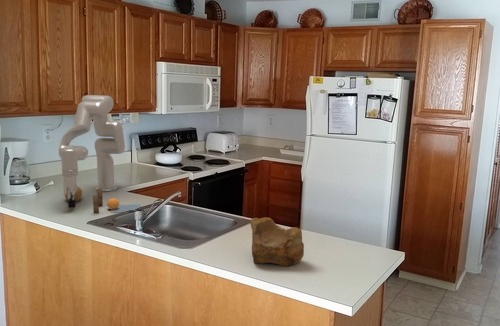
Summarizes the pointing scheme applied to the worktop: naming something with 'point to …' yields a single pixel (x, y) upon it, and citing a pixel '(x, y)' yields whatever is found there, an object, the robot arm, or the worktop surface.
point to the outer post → (95, 204)
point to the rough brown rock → (275, 243)
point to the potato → (76, 194)
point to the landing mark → (125, 208)
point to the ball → (113, 203)
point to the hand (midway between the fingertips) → (72, 207)
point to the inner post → (100, 197)
